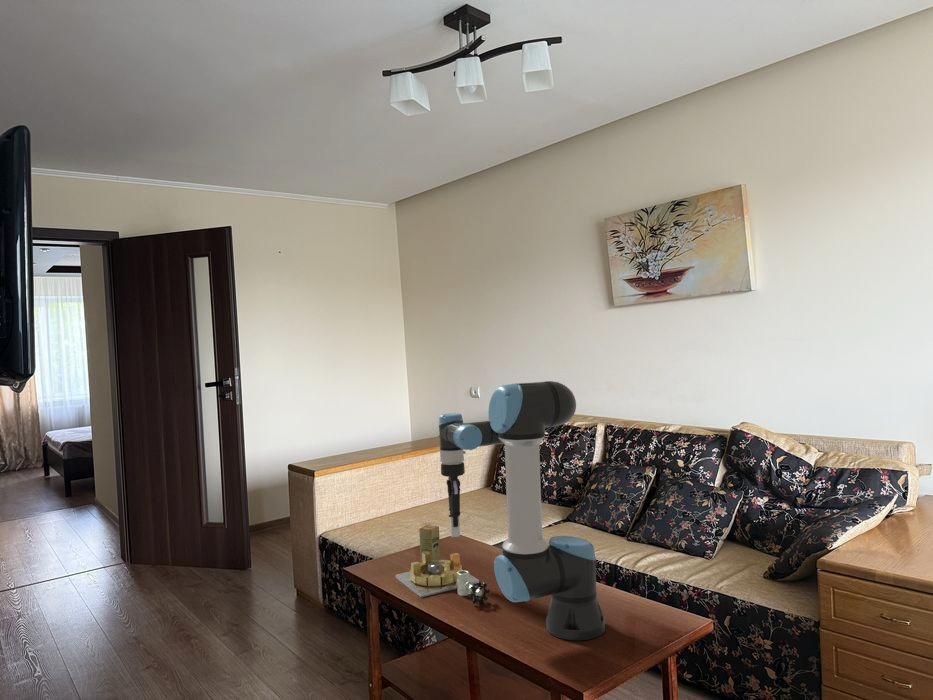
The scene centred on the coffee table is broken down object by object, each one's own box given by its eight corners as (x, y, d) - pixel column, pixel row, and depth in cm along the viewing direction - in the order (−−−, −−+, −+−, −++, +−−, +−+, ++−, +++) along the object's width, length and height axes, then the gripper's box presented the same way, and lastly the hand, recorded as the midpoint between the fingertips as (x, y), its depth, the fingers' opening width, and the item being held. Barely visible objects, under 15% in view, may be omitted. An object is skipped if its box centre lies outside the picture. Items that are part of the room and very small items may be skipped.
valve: (451, 594, 194) (470, 607, 183) (449, 572, 194) (469, 584, 183) (469, 589, 197) (490, 602, 187) (468, 567, 197) (489, 579, 187)
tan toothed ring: (471, 578, 202) (470, 560, 202) (423, 590, 195) (423, 571, 195) (447, 563, 217) (446, 547, 217) (402, 574, 209) (401, 556, 209)
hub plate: (479, 583, 202) (478, 567, 202) (421, 597, 192) (420, 580, 192) (450, 565, 219) (449, 550, 219) (395, 577, 210) (394, 562, 210)
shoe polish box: (420, 563, 223) (419, 528, 222) (428, 558, 227) (426, 525, 227) (433, 565, 220) (431, 530, 220) (440, 560, 224) (438, 526, 224)
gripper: (467, 465, 198) (470, 541, 199) (461, 457, 211) (464, 529, 212) (443, 467, 197) (446, 543, 198) (438, 459, 210) (441, 531, 210)
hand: (455, 535), depth 205 cm, fingers closed
